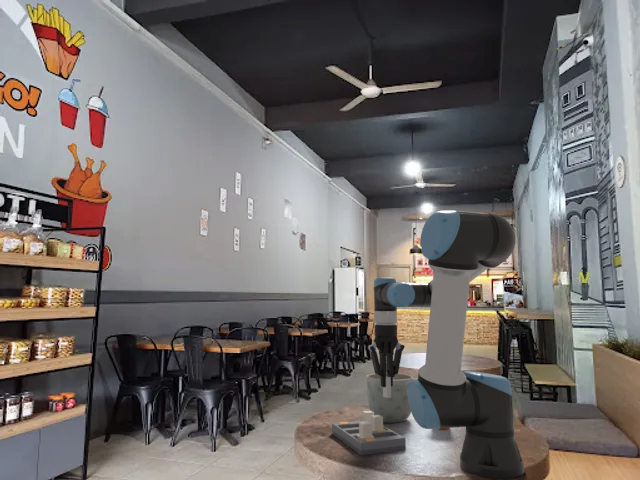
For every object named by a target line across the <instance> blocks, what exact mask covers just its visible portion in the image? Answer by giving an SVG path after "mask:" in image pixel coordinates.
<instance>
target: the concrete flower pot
mask: <svg viewBox="0 0 640 480" xmlns="http://www.w3.org/2000/svg"><path fill="white" fill-rule="evenodd" d="M386 376H387V372H386ZM365 378H366V387H367V388H366V389H367V390H366V391H367V403H368V408H369V409H368V410H369V411H372V412H374V415H380V416H382V417H383V423H387V424H395V423H401V422H404V421H406V420H407V419H408V418H409V417H410V416H411V415H412V413H411V410H410V406H409V402H408V394H407V389H408V384H409V383H410V381H412V380H414V377H413V375H410V374H406V373H399V372H398V374H395V376H394V377H393V386H392V387H391V398H386V397H383V387H381V377H380V376H379V375H377V374H375V373H371V374H370V373H369V374H367V375H366V376H365Z"/></svg>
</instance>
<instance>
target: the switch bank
mask: <svg viewBox="0 0 640 480" xmlns="http://www.w3.org/2000/svg"><path fill="white" fill-rule="evenodd" d="M359 422H363V419H362V420H354V421H353V420H352V421H339V422H333V423H331V434H332V435H333V436H335V437H336V438H337V439H338V440H340V441H341V442H342V443H344V444H345V445H346V446H348V447H349V448H350V449H352V450H353V451H354V452H356V453H357V454H359V455H360V456H365V455H372V454H373V455H374V453H375V454H383V453H390V452H396V451H397V452H399V451H405V450H407V448H406V447H407V445H406V444H407V442H406V437H404V436H403V435H401V434H399V433H397V432H395V431H394V430H391V429H390V428H388V427H387V426H384V425H383V428H384V429H385V430H378V431H374V432H372V436H374V437H375V438H366V439H360V440H358V439H357V435H359ZM382 452H383V453H382Z"/></svg>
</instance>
